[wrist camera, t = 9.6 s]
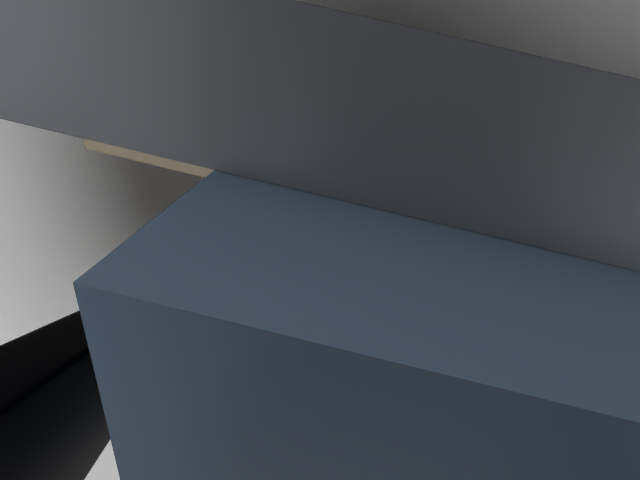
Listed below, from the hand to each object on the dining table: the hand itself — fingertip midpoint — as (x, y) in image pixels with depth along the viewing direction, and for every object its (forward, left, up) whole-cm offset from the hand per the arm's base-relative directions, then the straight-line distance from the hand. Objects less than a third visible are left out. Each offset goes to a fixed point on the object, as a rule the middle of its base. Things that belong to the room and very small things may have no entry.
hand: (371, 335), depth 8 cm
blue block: (0, 0, -4) cm, 4 cm away
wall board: (0, -5, -4) cm, 6 cm away
